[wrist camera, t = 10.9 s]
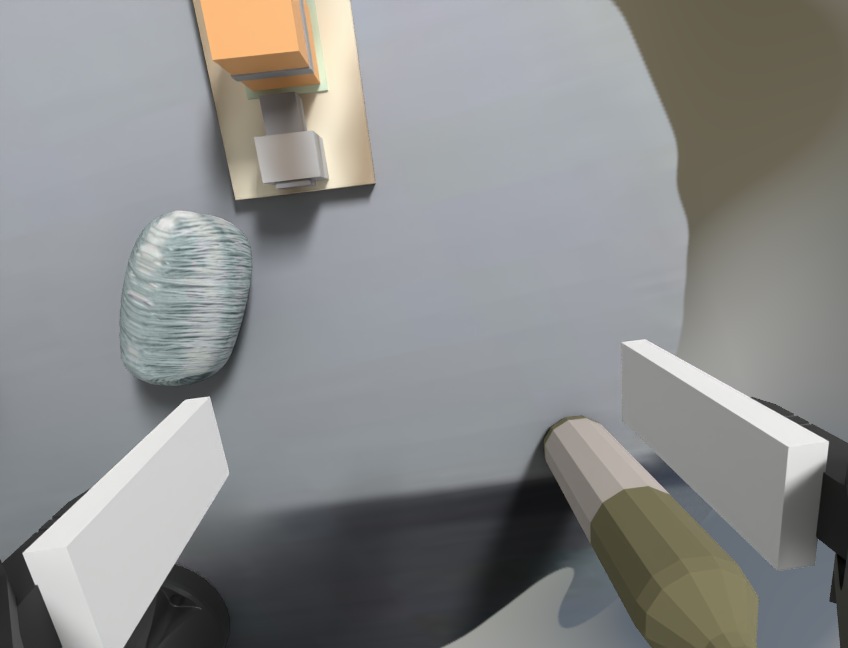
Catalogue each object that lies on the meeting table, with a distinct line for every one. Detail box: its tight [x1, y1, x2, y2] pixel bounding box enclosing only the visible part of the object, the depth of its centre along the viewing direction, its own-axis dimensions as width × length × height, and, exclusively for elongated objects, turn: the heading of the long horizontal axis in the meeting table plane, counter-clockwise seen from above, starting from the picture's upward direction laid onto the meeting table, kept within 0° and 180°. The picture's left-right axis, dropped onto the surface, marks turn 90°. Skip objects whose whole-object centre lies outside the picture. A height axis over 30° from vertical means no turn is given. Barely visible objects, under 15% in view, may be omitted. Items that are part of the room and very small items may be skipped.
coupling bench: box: [193, 0, 376, 200], centre depth 33 cm, size 11×20×6 cm, turn 7°
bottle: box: [544, 416, 759, 648], centre depth 31 cm, size 7×7×30 cm
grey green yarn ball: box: [119, 211, 252, 386], centre depth 36 cm, size 14×10×10 cm
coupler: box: [200, 0, 320, 91], centre depth 30 cm, size 5×5×8 cm
